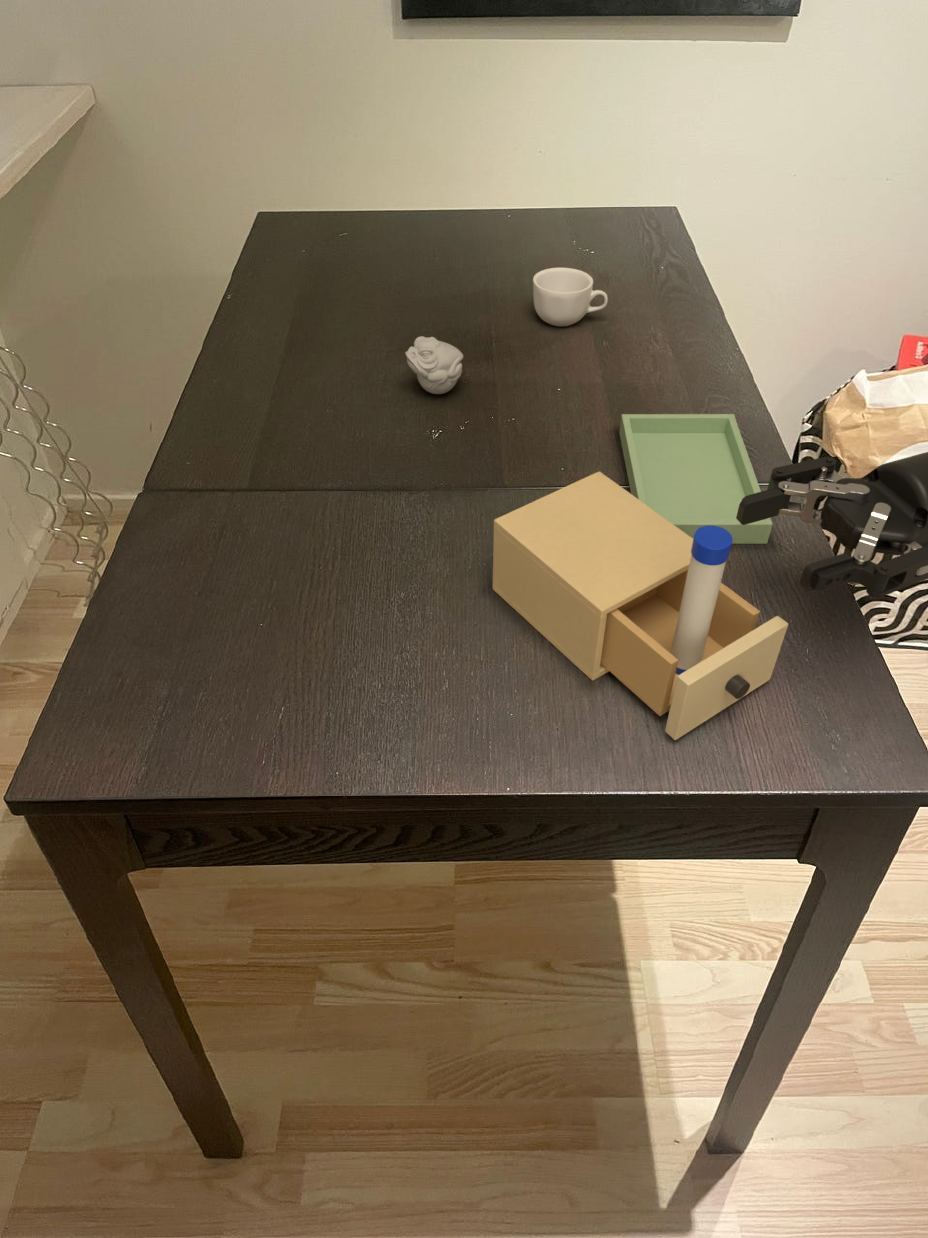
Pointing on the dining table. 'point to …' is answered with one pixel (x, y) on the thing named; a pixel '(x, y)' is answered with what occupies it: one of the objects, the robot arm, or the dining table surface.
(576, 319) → the teacup
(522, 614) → the cabinet
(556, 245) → the dining table surface
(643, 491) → the tray
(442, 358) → the frog figurine
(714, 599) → the marker
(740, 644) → the drawer
